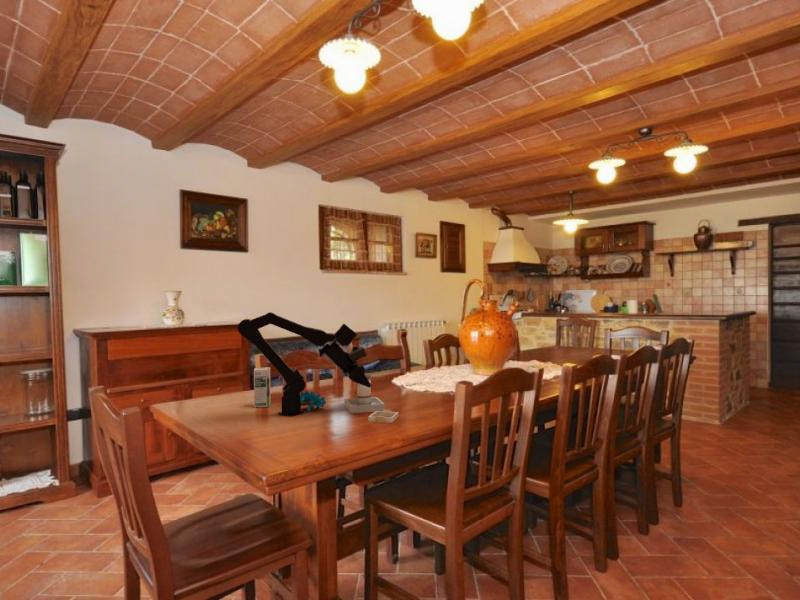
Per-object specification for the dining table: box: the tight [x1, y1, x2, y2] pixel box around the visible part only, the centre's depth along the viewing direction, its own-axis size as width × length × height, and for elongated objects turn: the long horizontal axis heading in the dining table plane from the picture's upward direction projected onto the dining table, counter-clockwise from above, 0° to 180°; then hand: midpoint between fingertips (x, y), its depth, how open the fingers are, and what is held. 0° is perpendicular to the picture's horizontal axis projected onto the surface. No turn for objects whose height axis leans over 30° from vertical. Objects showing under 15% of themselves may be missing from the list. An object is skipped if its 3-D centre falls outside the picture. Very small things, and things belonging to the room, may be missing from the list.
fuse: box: [356, 372, 372, 405], centre depth 174 cm, size 5×5×12 cm
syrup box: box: [253, 366, 271, 409], centre depth 179 cm, size 6×6×14 cm
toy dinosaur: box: [300, 390, 327, 413], centre depth 171 cm, size 11×6×10 cm
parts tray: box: [343, 396, 386, 414], centre depth 174 cm, size 13×13×2 cm
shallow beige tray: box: [367, 409, 399, 424], centre depth 158 cm, size 8×10×2 cm
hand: (367, 384), depth 174 cm, fingers open, 9 cm apart
